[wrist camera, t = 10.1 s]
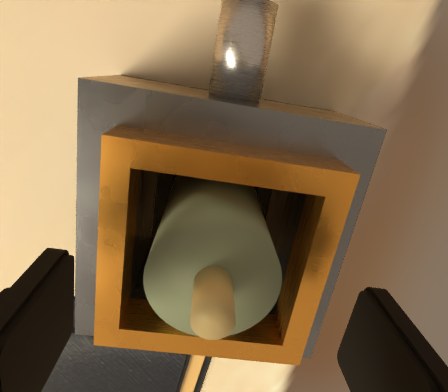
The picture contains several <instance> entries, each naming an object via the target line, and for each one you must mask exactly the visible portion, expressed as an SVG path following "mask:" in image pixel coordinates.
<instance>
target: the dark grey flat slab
mask: <svg viewBox="0 0 448 392" xmlns="http://www.w3.org/2000/svg"><path fill="white" fill-rule="evenodd" d="M210 360H211V357H209V356H199V355H189V354H179V353H169V352H158V351H148V350H138V349H128V348H118V347H107V346H97V345H94V336H88V335H78V334H75V297H74V324H73V330H72V333H71V336H70V338H69V340H68V342H67V344H66V346H65V348H64V350H63V351H62V353H61V355H60V357H59V359H58V361H57V363H56V365H55V367H54V369H53V370H52V372H51V374H50V376H49V378H48V380H47V382H46V384H45V386H44V387H43V389H42V391H41V392H200V389H201V386H202V384H203V381H204V378H205V375H206V372H207V369H208V366H209V363H210Z"/></svg>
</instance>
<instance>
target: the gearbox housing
mask: <svg viewBox="0 0 448 392" xmlns="http://www.w3.org/2000/svg"><path fill="white" fill-rule="evenodd" d="M277 10H278V5H277V4H276V3H274V2H272V1H270V0H222V3H221V10H220V17H219V24H218V31H217V38H216V45H215V52H214V59H213V66H212V73H211V80H210V87H209V90H205V89H199V88H193V87H187V86H181V85H175V84H169V83H164V82H158V81H152V80H146V79H140V78H134V77H128V76H123V75H113V76H97V77H82V78H78V120H77V200H76V279H75V334H78V335H88V336H94V345H97V346H107V347H118V348H128V349H138V350H148V351H158V352H169V353H179V354H189V355H199V356H209V357H219V358H230V359H240V360H250V361H260V362H270V363H281V364H291V365H300V362H301V359H302V357H306V358H311V356H312V353H313V350H314V347H315V344H316V341H317V338H318V335H319V332H320V328H321V326H322V322H323V319H324V317H325V314H326V311H327V308H328V305H329V301H330V299H331V296H332V293H333V290H334V287H335V284H336V281H337V278H338V275H339V272H340V269H341V266H342V263H343V260H344V257H345V254H346V251H347V248H348V245H349V242H350V239H351V236H352V233H353V230H354V227H355V224H356V221H357V218H358V214H359V212H360V209H361V206H362V202H363V200H364V197H365V194H366V191H367V188H368V185H369V182H370V179H371V176H372V173H373V170H374V167H375V164H376V161H377V158H378V155H379V152H380V149H381V146H382V143H383V140H384V137H385V134H386V131H387V130H386V129H383V128H380V127H378V126H375V125H372V124H369V123H366V122H363V121H360V120H357V119H354V118H351V117H349V116H346V115H343V114H340V113H337V112H333V111H327V110H322V109H316V108H310V107H304V106H298V105H292V104H286V103H281V102H275V101H269V100H263V99H260V97H261V92H262V87H263V82H264V77H265V72H266V67H267V62H268V56H269V51H270V46H271V41H272V36H273V31H274V26H275V21H276V16H277ZM158 172H160V173H167V174H174V175H181V176H188V177H195V178H201V179H208V180H215V181H222V182H229V183H236V184H242V185H249V186H256V187H263V188H270V189H273V190H272V195H271V199H270V203H269V208H268V212H267V216H266V224H267V227H268V230H269V233H270V236H271V239H272V242H273V245H274V248H275V250H276V253H277V256H278V259H279V262H280V266H281V271H282V285H281V291H280V294H279V297H278V299H277V301H276V303H275V305H274V306H273V308H272V309H271V311H270V312H269V313H268V314H267V315H266V316H265V317H264V318H263V319H262V320H261V321H260V322H258V323H257V324H255V325H254V326H252V327H251V328H249V329H247V330H245V331H242V332H240V333H237V334H233V335H229V336H226V337H224V338H222V339H218V340H208V339H204V338H201V337H199V336H195V335H191V334H187V333H185V332H182V331H179V330H178V329H176V328H174V327H172V326H170V325H169V324H167V323H166V322H165V321H164V320H162V319H161V318H160V317H159V316H158V315H157V313H156V312H155V311H154V310H153V308H152V307H151V305H150V304H149V301H148V299H147V297H146V294H145V291H144V284H143V274H144V268H145V264H146V261H147V259H148V256H149V253H150V250H151V247H152V244H153V241H154V238H151V236H152V226H153V216H154V206H155V196H156V186H157V176H158Z"/></svg>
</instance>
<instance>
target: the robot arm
mask: <svg viewBox="0 0 448 392" xmlns="http://www.w3.org/2000/svg"><path fill="white" fill-rule="evenodd" d="M73 324H74V256H72V255H69V253H68V251H67V250H62V249H54V248H47V249H46V250H45V251H44V252H43V253H42V254H41V255H40V256H39V257H38V258H37V259H36V260H35V261H34V262H33V264H32V265H31V266H30V267H29V268H28V269H27V270H26V271H25V272H24V273H23V274H22V276H21V277H20V278H19V279H18V280H17V281H16V282H15V283H14V284H13V285H12V286H11V287H10V288H6V289H4V290H3V291H1V292H0V392H41V391H42V389H43V387H44V386H45V384H46V382H47V380H48V378H49V376H50V374H51V372H52V370H53V369H54V367H55V365H56V363H57V361H58V359H59V357H60V355H61V353H62V351H63V350H64V348H65V346H66V344H67V342H68V340H69V338H70V336H71V333H72V330H73ZM337 359H338V363H339V366H340V368H341V371H342V373H343V375H344V377H345V380H346V382H347V384H348V387H349V389H350V391H351V392H448V367H447V365H446V364H445V363H444V361H443V360H442V359H441V358H440V357H439V355H438V354H437V353H436V352H435V350H434V349H433V348H432V347H431V345H430V344H429V343H428V341H427V340H426V339H425V338H424V336H423V335H422V334H421V333H420V331H419V330H418V329H417V327H416V326H415V325H414V324H413V322H412V321H411V320H410V319H409V317H408V316H407V315H406V314H405V312H404V311H403V310H402V309H401V307H400V306H399V305H398V304H397V303H396V301H395V300H394V299H393V297H392V296H391V295H390V294H389V293H388V291H387V290H385V289H380V288H372V287H367V288H366V289H365V290H364V291H361V292H360V293H359V295H358V299H357V301H356V304H355V306H354V309H353V312H352V314H351V317H350V320H349V323H348V325H347V329H346V331H345V334H344V336H343V339H342V342H341V344H340V347H339V350H338V354H337Z"/></svg>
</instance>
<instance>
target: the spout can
mask: <svg viewBox="0 0 448 392" xmlns="http://www.w3.org/2000/svg"><path fill="white" fill-rule="evenodd" d="M143 284H144V291H145V294H146V297H147V299H148V301H149V304H150V305H151V307H152V308H153V310H154V311H155V312H156V313H157V315H158V316H159V317H160V318H161V319H162V320H164V321H165V322H166V323H167V324H169V325H170V326H172V327H174V328H176V329H178V330H179V331H182V332H185V333H187V334H191V335H195V336H199V337H201V338H204V339H208V340H218V339H222V338H224V337H226V336H229V335H233V334H237V333H240V332H242V331H245V330H247V329H249V328H251V327H252V326H254V325H255V324H257V323H258V322H260V321H261V320H262V319H263V318H264V317H265V316H266V315H267V314H268V313H269V312H270V311H271V309H272V308H273V306H274V305H275V303H276V301H277V299H278V297H279V294H280V291H281V285H282V271H281V266H280V262H279V259H278V256H277V253H276V250H275V248H274V245H273V242H272V239H271V236H270V233H269V230H268V227H267V224H266V221H265V218H264V216H263V213H262V210H261V207H260V204H259V201H258V198H257V195H256V192H255V189H254V187H253V186H249V185H242V184H236V183H229V182H222V181H215V180H208V179H201V178H195V177H188V176H181V175H177V177H176V179H175V181H174V184H173V187H172V190H171V192H170V195H169V198H168V201H167V204H166V207H165V210H164V213H163V215H162V218H161V221H160V224H159V227H158V230H157V233H156V236H155V238H154V241H153V244H152V247H151V250H150V253H149V256H148V259H147V261H146V264H145V268H144V274H143Z"/></svg>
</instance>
